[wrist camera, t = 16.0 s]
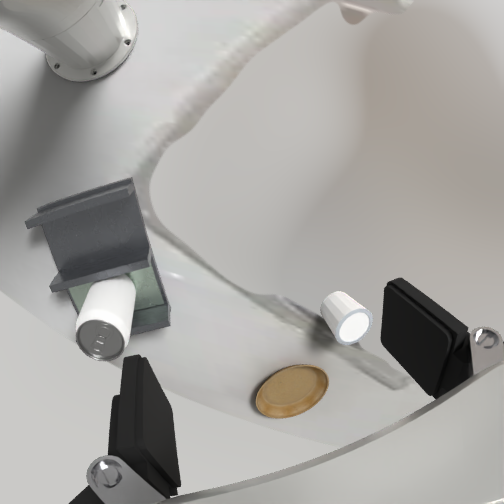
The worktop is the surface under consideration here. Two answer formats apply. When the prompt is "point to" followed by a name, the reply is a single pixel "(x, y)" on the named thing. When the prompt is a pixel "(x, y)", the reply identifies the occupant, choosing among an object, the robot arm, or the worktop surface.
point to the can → (106, 318)
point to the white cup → (346, 318)
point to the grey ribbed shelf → (104, 249)
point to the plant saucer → (292, 391)
